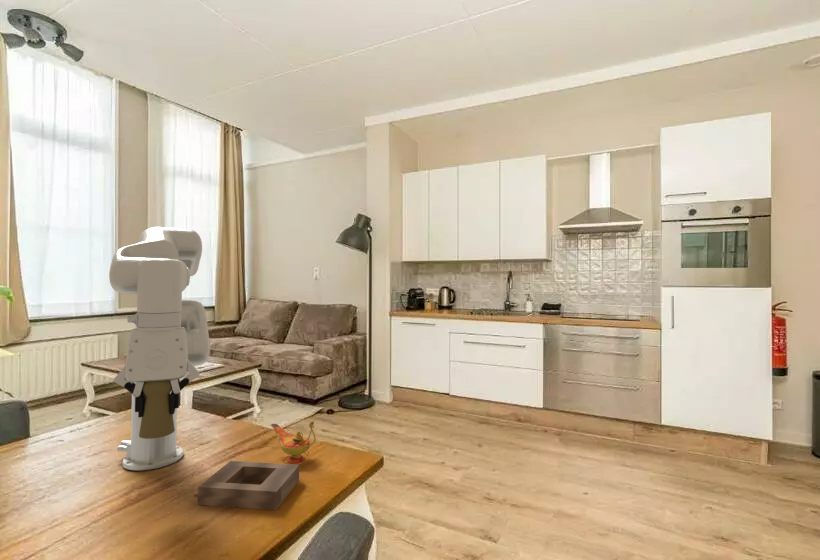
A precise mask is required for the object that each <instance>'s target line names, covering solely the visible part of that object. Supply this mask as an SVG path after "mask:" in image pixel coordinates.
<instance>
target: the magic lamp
mask: <svg viewBox="0 0 820 560" xmlns="http://www.w3.org/2000/svg"><path fill="white" fill-rule="evenodd" d="M314 424H315V421H314V420H313V421H310V422H309V424H308V426H309V428H310V431H309V434H308V436H307V438H305V437H304V434H303V432H301V431H300V430H297V432H296V434H295V435H291V434H290V433H288V432H287V431H286V430H285V429H283V428H282V427H281V426H280V425H279V424H277V423H270V426H271V428H272V429H273V431H274V433H275V435H276V438H277V440H278V442H279V444H280V446H281V450H282V452H284V453H286V454H287V455H290V456H289V457H287V458H286V459H285V460H284V462H285V464H296V465H301V464H304V463H305V462H307V457H306V456H310V455H309V454H310V453H309V449H310V448H311V447H312V446H313V445H314V444H315V443H316V439H317V437H316V434H315V432H314V430H313V429H314V428H315V425H314ZM311 434H312V435H313V437H314V438H313V440H314V441H313V442H312V443H311V441H310V437H311ZM307 453H308V454H307ZM303 454H304V455H305V456H303Z"/></svg>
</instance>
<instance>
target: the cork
mask: <svg viewBox="0 0 820 560" xmlns="http://www.w3.org/2000/svg"><path fill="white" fill-rule="evenodd" d="M142 389H143V393H144V394H145V395H146V396H145V402H144V410H143V416H142V420H141V426H140V432H139V437H140V438H144V439H152V438H160V437H164V436H167V435H170V434H172V433H173V432H174V431H175V429H174V421H173V414H170V392H171V390H172V385H171V381H170V380H164V381H149V382H144V384H143V388H142Z"/></svg>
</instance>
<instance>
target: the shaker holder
mask: <svg viewBox="0 0 820 560" xmlns="http://www.w3.org/2000/svg"><path fill="white" fill-rule="evenodd" d="M299 481H300V464H297V465H296V464H287V463H277V462H276V463H274V462H257V461H255V462H254V461H239V460H230V461H228V462H227V463H226V464H225V465H223V466H222V467H221V468H220V469H219V470H217V471H216V472H214V473H213V474H212V475H211V476H210V477H208V478H207V479H206V480H205V481H203V482H202V483H201V484H200V485H198V486H197V505H198V506H209V507H210V506H211V507H226V508H236V509H237V508H239V509H240V508H242V509H252V510H253V509H255V510H267V511H268V510H269V511H277V510H278V508H280V506H281V505H282V504H283V502H284V501H285V500H286V498H287V497H288V496H289V495H290V493H291V492H292V491H293V489H294V488H295V487H296V485H297V484H298V483H299Z"/></svg>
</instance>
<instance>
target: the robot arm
mask: <svg viewBox="0 0 820 560" xmlns="http://www.w3.org/2000/svg"><path fill="white" fill-rule="evenodd" d="M202 254H203V241H202V239H201V236H200V234H199V233H197V231H195V230H193V229H188V228H176V227H165V226H164V227H162V226H153V227H150V228H146V229H145V230H143V231H142V232H141V233H140V235H139V237H138V242H137V243H134V244H129V245H126V246H123V247H121V248H119V249H117V250H116V251H115V252H114V254H113V257H112V259H111V262H110V267H109V277H108V278H109V284H110V286H111V288H112V289H113V290H114V291H115V292H117V293H119V294H128V295H136V297H137V299H136V300H137V301H136V313H135V314H132V315H127V324H128V323H130V324H134V325H135V328H132V329H131V331H130V334H129V338H128V339H129V340H128V344H127V351H126V361H125V362H126V363H125V364H126V365H125V366H124V367H123V368H122V369H121V370H120V371H119V372H118V374H117V375H116V376H114V378H113V383H115V384H117V385H119V386H120V387H123V388H124V389H125V390H127V391H128V392H129V393H131V415H130V417H131V418H130V419H131V421H130V422H131V425H130V429H131V430H130V440H129V439H128V440H127V439H123V440H122V441H121V442H120V445H119V446H118V447H117V449H116V450H117V452H123V453H124V452H125V453H126V454H125V455H126V456H125V457H124V458H123V459H122V467H123V468H124V469H125V470H130V471H148V470H153V469H154V470H155V469H159V468H160V469H161V468H163V467H166V466H169V465H172V464H174V463H176V462H177V461H179V460H180V459H181V458H182V457H183V456H184V449H183V447H181V446H178V445H177V436H178V435H177V432H178V429H177V427H178V421H177V420H178V409H179V408H180V392H181V391H182V390H183V389H185V387H186V386H187V385H188V384H190V382H193V381H194V380H196V378H198V377H199V376H200V372H199V370H198V369H197V368H196V367H199V366H202V365H204V364H206V363H207V361H208V360H209V358H210V353H211V343H210V336H209V335H210V334H209V325H208V319H207V313H206V309H205V306H204V305H203V304H202V303H201V302H200V301H198V300H187V299H186V300H185V299H183V292H184V291H185V290H186V288H187V287H188V286H189V285H190V282H191V281H190V280H191V277H193V276H195V275H196V274H197V272H198V270H199V267H200V262H201V258H202ZM182 299H183V300H182ZM187 372H188V375H187ZM186 375H187V376H186ZM164 380H170V381H171V385H172V390H171V392H170V414H173V421H174V429H175V431H174V432H173V433H172V434H170V435H167V436H164V437H160V438H152V439H144V438H140V437H139V432H140V426H141V420H142V416H143V410H144V402H145V396H146V395H145V394H144V393H143V389H142V388H143V384H144V382H149V381H164Z"/></svg>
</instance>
